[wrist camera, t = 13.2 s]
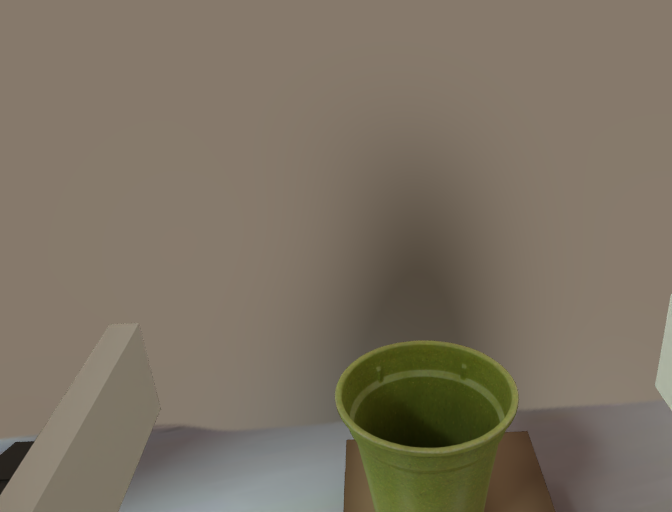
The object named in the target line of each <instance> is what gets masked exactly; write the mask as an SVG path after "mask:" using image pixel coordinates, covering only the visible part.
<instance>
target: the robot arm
mask: <svg viewBox="0 0 672 512" xmlns="http://www.w3.org/2000/svg"><path fill="white" fill-rule="evenodd" d="M655 387H656V388H657V390H658V391H659V392H660V394H661V396H662V397H663V399H664V400H665V402H666V403H667V405H668V406H669V408H670V409H671V410H672V294H671V297H670V303H669V308H668V314H667V320H666V325H665V331H664V337H663V343H662V348H661V354H660V360H659V365H658V371H657V377H656V383H655ZM160 409H161V408H160V404H159V400H158V396H157V392H156V388H155V384H154V381H153V376H152V372H151V368H150V365H149V360H148V357H147V352H146V348H145V344H144V340H143V336H142V332H141V328H140V324H139V323H129V324H110V325H109V327H108V328H107V330H106V331H105V333H104V334H103V336H102V337H101V339H100V340H99V342H98V343H97V345H96V347H95V348H94V350H93V351H92V353H91V355H90V356H89V358H88V359H87V361H86V362H85V364H84V365H83V367H82V369H81V370H80V372H79V373H78V375H77V377H76V378H75V379H74V381H73V382H72V384H71V386H70V387H69V389H68V390H67V392H66V393H65V395H64V397H63V398H62V400H61V401H60V403H59V404H58V406H57V407H56V409H55V411H54V413H53V414H52V415H51V417H50V418H49V420H48V422H47V423H46V425H45V426H44V428H43V429H42V431H41V432H40V434H39V436H38V437H37V439H36V440H35V441H31V442H15V443H14V444H13V445H12V446H11V447H9V448H8V449H7V450H6V451H5V452H3V453H2V454H1V455H0V512H118V511H119V509H120V506H121V504H122V501H123V499H124V496H125V494H126V492H127V489H128V487H129V484H130V482H131V480H132V477H133V475H134V472H135V470H136V467H137V465H138V463H139V460H140V458H141V455H142V453H143V451H144V448H145V446H146V443H147V441H148V439H149V436H150V434H151V431H152V429H153V426H154V424H155V422H156V419H157V417H158V414H159V412H160Z"/></svg>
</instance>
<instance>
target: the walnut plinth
mask: <svg viewBox="0 0 672 512" xmlns="http://www.w3.org/2000/svg"><path fill="white" fill-rule="evenodd" d="M344 512H375V509H374V505H373V501H372V497H371V493H370V489H369V485H368V481H367V477H366V473H365V470H364V466H363V462H362V459H361V455H360V451H359V448H358V444H357V442H356V441H355V440H347V442H346V471H345V486H344ZM484 512H555V509H554V506H553V503H552V501H551V498H550V495H549V492H548V489H547V486H546V483H545V480H544V478H543V475H542V472H541V469H540V466H539V463H538V460H537V457H536V455H535V452H534V449H533V446H532V443H531V440H530V437H529V434H528V432H527V431H522V432H505V434H504V436H503V438H502V440H501V441H500V443H499V444H498V448H497V453H496V457H495V461H494V465H493V470H492V474H491V478H490V483H489V487H488V493H487V498H486V503H485V508H484Z"/></svg>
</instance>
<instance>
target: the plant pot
mask: <svg viewBox="0 0 672 512" xmlns="http://www.w3.org/2000/svg"><path fill="white" fill-rule="evenodd" d="M518 396H519V395H518V390H517V386H516V384H515V381H514V380H513V378H512V377H511V375H510V374H509V373H508V371H507V370H506V369H505V368H504V367H503V366H501V365H500V364H499V363H497V362H496V361H495V360H493V359H492V358H490V357H489V356H487V355H485V354H484V353H481V352H479V351H477V350H474V349H471V348H469V347H464V346H462V345H457V344H453V343H448V342H438V341H431V340H429V341H422V340H420V341H408V342H400V343H395V344H391V345H386V346H383V347H380V348H377V349H375V350H372V351H370V352H368V353H366V354H364V355H362V356H361V357H359V358H358V359H357V360H355V361H354V362H353V363H352V364H350V365H349V367H347V368H346V370H345V371H344V372H343V374H342V375H341V377H340V379H339V381H338V384H337V386H336V390H335V401H336V406H337V410H338V413H339V415H340V417H341V419H342V420H343V422H344V423H345V425H346V426H347V427H348V428H349V429H350V432H351V434H352V436H353V438H354V439H355V441H356V442H357V444H358V448H359V451H360V455H361V459H362V462H363V466H364V470H365V473H366V477H367V481H368V485H369V489H370V493H371V497H372V501H373V505H374V509H375V512H484V508H485V503H486V498H487V493H488V487H489V483H490V478H491V474H492V470H493V465H494V461H495V457H496V453H497V448H498V444H499V443H500V441H501V440H502V438H503V436H504V434H505V431H506V429H507V428H508V426H509V425H510V424H511V422H512V421H513V419H514V417H515V415H516V412H517V408H518V399H519V397H518Z"/></svg>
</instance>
